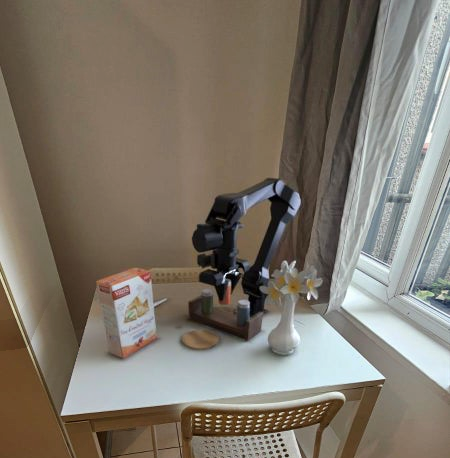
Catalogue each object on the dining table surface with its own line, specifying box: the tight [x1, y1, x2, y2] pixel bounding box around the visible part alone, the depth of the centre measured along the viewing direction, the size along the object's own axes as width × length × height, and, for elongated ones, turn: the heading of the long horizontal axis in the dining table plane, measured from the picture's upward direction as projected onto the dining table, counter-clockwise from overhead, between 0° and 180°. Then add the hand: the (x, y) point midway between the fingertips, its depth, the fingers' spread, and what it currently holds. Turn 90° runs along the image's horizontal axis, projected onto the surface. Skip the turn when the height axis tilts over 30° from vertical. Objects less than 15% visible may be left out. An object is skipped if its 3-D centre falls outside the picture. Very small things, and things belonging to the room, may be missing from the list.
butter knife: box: [153, 298, 168, 308], centre depth 116 cm, size 1×27×3 cm
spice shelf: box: [187, 295, 264, 342], centre depth 108 cm, size 8×23×6 cm, turn 55°
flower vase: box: [259, 258, 323, 356], centre depth 90 cm, size 13×18×25 cm
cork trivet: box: [181, 329, 219, 351], centre depth 101 cm, size 11×11×1 cm
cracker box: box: [95, 266, 158, 359], centre depth 92 cm, size 14×6×21 cm, turn 148°
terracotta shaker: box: [218, 278, 232, 306], centre depth 103 cm, size 4×4×7 cm
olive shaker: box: [200, 288, 214, 314], centre depth 109 cm, size 4×4×7 cm
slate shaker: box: [236, 299, 250, 326], centre depth 103 cm, size 4×4×7 cm
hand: (224, 298), depth 104 cm, fingers closed on terracotta shaker, 4 cm apart
